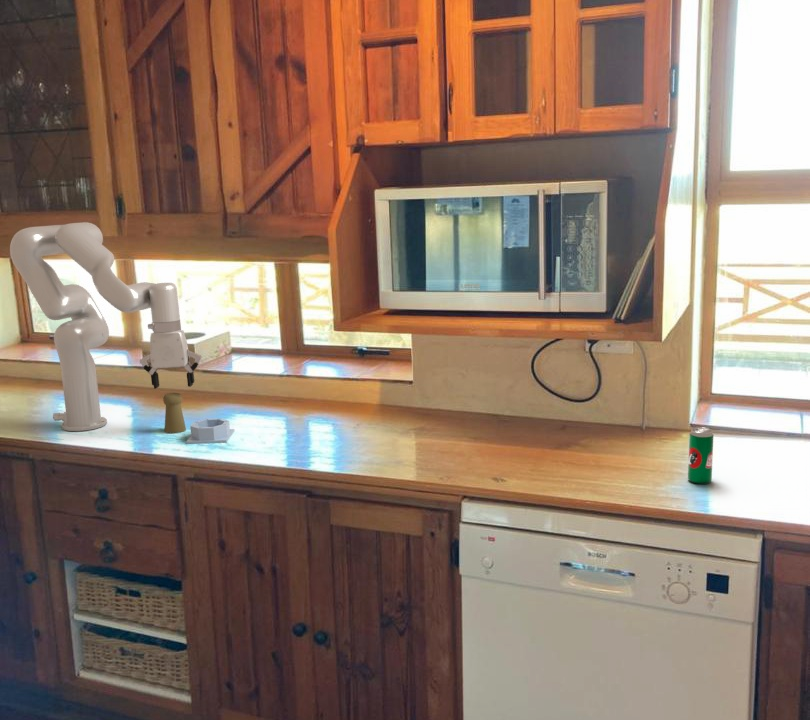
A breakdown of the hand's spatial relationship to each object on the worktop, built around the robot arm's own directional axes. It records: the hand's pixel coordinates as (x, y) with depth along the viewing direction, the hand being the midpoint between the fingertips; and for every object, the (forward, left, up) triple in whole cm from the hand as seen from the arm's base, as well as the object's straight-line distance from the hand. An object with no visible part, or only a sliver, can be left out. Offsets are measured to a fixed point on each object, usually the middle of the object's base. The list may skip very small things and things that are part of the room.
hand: (173, 386), depth 244 cm
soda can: (+131, -55, -13) cm, 143 cm away
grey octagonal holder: (+11, -8, -13) cm, 19 cm away
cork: (-1, 0, -13) cm, 13 cm away
